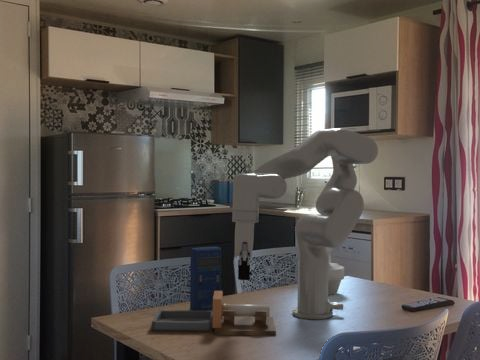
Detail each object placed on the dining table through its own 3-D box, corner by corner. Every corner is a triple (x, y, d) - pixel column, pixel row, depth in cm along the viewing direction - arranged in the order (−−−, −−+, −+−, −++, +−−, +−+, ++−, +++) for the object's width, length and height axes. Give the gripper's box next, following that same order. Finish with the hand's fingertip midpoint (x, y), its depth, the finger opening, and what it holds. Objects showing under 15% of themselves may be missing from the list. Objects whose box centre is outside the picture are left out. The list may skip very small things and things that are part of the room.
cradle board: (272, 321, 163) (272, 302, 163) (275, 335, 149) (276, 315, 149) (216, 320, 163) (216, 302, 163) (213, 334, 149) (214, 314, 149)
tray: (214, 319, 165) (214, 310, 165) (212, 332, 152) (212, 322, 152) (158, 318, 165) (158, 310, 165) (151, 331, 152) (151, 322, 152)
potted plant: (346, 296, 196) (347, 227, 196) (314, 296, 196) (315, 227, 196) (340, 289, 209) (341, 224, 208) (310, 288, 209) (311, 223, 208)
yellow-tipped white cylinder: (268, 316, 158) (269, 303, 158) (269, 318, 155) (269, 305, 155) (220, 315, 158) (220, 302, 158) (220, 317, 155) (220, 304, 155)
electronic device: (195, 313, 172) (196, 249, 171) (188, 309, 176) (189, 247, 176) (222, 309, 177) (222, 247, 176) (214, 306, 181) (215, 245, 181)
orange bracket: (222, 318, 162) (222, 290, 161) (221, 328, 151) (221, 299, 151) (214, 317, 162) (214, 290, 161) (212, 328, 151) (212, 299, 151)
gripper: (232, 214, 164) (231, 271, 164) (231, 218, 147) (230, 282, 147) (257, 215, 164) (255, 271, 165) (259, 219, 147) (257, 282, 147)
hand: (243, 276), depth 156 cm, fingers open, 9 cm apart
